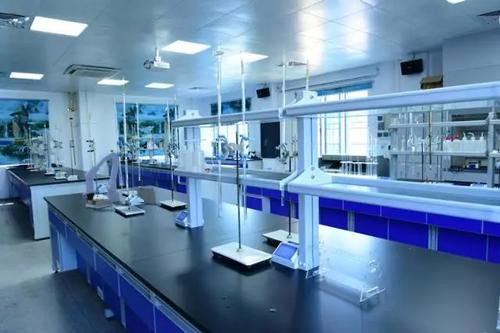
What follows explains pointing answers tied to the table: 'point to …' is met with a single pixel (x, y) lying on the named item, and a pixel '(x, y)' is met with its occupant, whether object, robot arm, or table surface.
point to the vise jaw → (92, 201)
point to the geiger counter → (146, 194)
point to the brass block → (99, 199)
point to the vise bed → (100, 204)
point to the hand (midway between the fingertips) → (90, 202)
